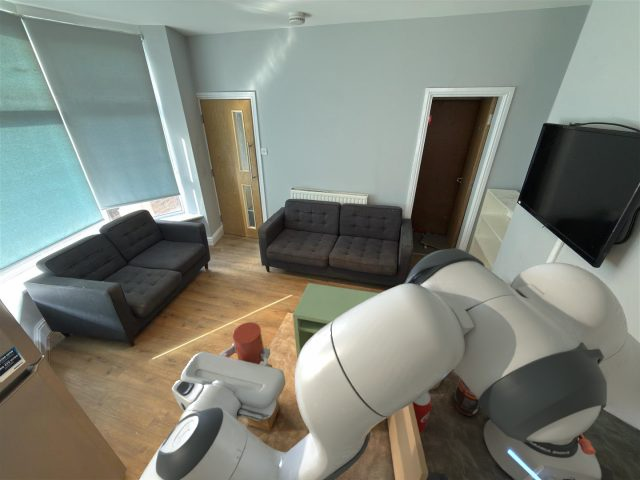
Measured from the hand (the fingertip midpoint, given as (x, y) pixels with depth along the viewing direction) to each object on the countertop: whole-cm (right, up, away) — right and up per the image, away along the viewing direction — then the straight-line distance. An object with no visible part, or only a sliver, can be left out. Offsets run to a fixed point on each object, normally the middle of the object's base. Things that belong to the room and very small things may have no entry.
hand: (252, 346), depth 59 cm
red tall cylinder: (0, -6, +2) cm, 7 cm away
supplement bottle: (+55, -21, +13) cm, 60 cm away
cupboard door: (+35, -26, +3) cm, 44 cm away
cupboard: (+23, -15, +25) cm, 37 cm away
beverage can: (+39, -24, +9) cm, 46 cm away
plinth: (0, -23, +11) cm, 26 cm away
